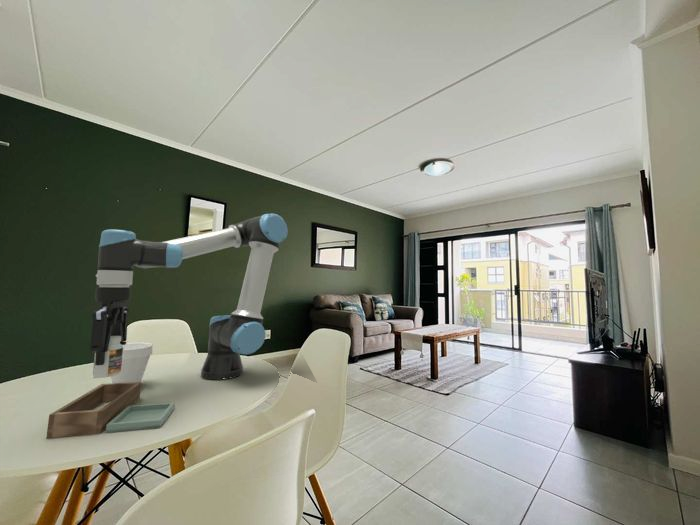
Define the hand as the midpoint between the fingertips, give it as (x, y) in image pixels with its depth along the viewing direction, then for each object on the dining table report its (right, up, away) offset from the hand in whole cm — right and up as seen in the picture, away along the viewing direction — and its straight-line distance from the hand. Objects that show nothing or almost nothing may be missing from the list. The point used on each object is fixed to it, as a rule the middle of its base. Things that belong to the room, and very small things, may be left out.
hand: (107, 373), depth 75 cm
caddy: (-1, -11, -1) cm, 11 cm away
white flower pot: (-10, -12, +19) cm, 25 cm away
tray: (+12, -11, -3) cm, 16 cm away
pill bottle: (0, -1, 0) cm, 1 cm away
